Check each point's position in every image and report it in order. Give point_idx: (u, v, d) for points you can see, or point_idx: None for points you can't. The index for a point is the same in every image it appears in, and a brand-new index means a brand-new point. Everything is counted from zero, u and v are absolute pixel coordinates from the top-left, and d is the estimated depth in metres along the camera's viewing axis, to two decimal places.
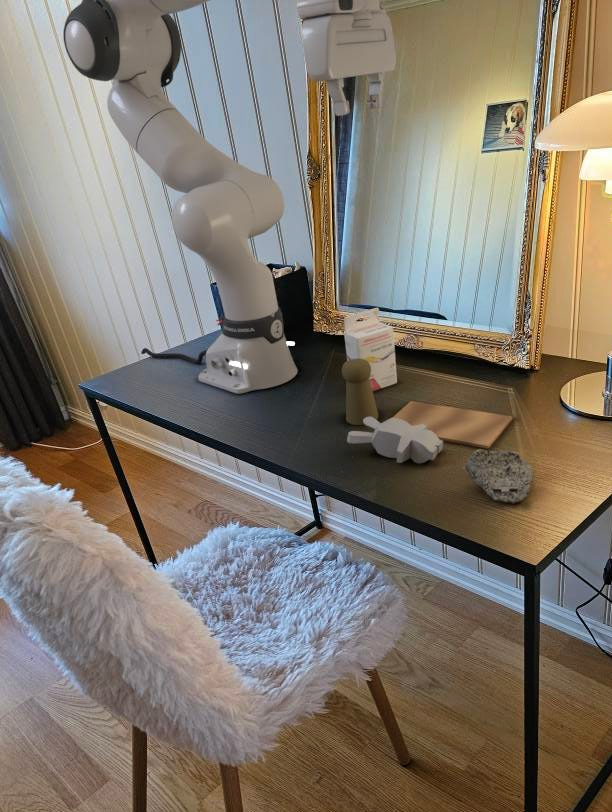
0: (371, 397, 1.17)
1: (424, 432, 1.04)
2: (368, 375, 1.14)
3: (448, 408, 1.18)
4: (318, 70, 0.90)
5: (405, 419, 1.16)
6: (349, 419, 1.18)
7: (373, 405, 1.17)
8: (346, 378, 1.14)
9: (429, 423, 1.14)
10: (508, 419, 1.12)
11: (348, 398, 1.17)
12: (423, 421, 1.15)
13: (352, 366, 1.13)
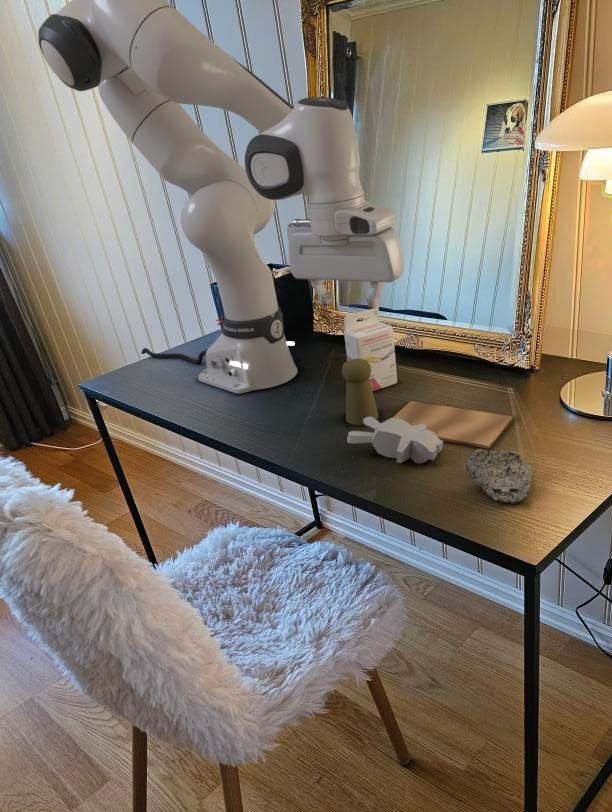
0: (371, 397, 1.17)
1: (424, 432, 1.04)
2: (368, 375, 1.14)
3: (448, 408, 1.18)
4: (400, 271, 1.01)
5: (405, 419, 1.16)
6: (349, 419, 1.18)
7: (373, 405, 1.17)
8: (346, 378, 1.14)
9: (429, 423, 1.14)
10: (508, 419, 1.12)
11: (348, 398, 1.17)
12: (423, 421, 1.15)
13: (352, 366, 1.13)
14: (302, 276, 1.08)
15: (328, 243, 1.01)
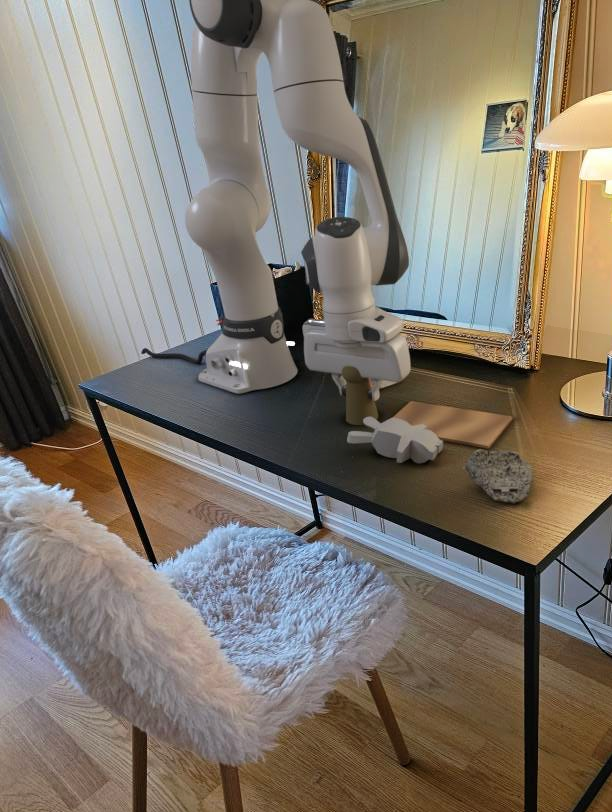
0: None
1: (424, 432, 1.04)
2: None
3: (448, 408, 1.18)
4: (407, 372, 1.10)
5: (405, 419, 1.16)
6: (349, 419, 1.18)
7: (373, 405, 1.17)
8: (346, 378, 1.14)
9: (429, 423, 1.14)
10: (508, 419, 1.12)
11: (348, 398, 1.16)
12: (423, 421, 1.15)
13: None
14: (316, 369, 1.17)
15: (341, 345, 1.10)
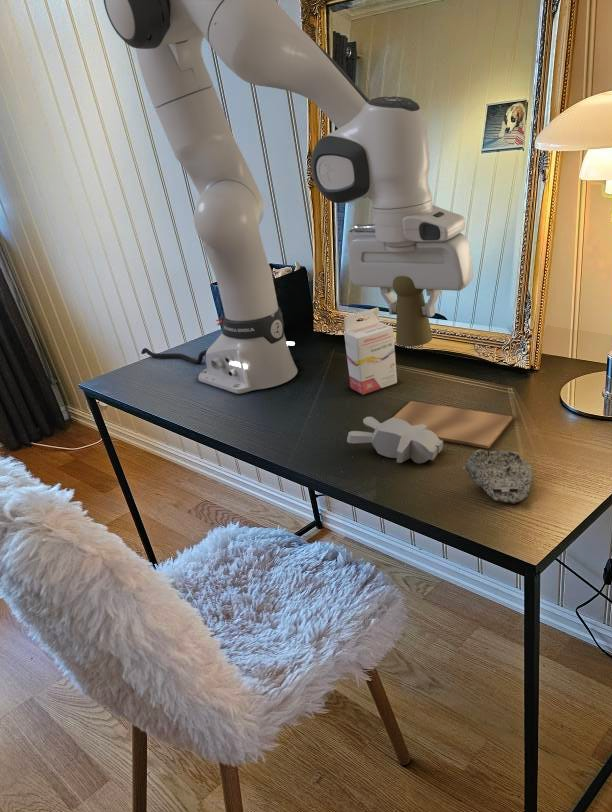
0: None
1: (424, 432, 1.04)
2: None
3: (448, 408, 1.18)
4: (469, 278, 0.96)
5: (405, 419, 1.16)
6: (400, 340, 1.05)
7: (427, 323, 1.04)
8: (398, 291, 1.01)
9: (429, 423, 1.14)
10: (508, 419, 1.12)
11: (399, 315, 1.03)
12: (423, 421, 1.15)
13: (405, 276, 0.99)
14: (362, 284, 1.04)
15: (394, 250, 0.96)
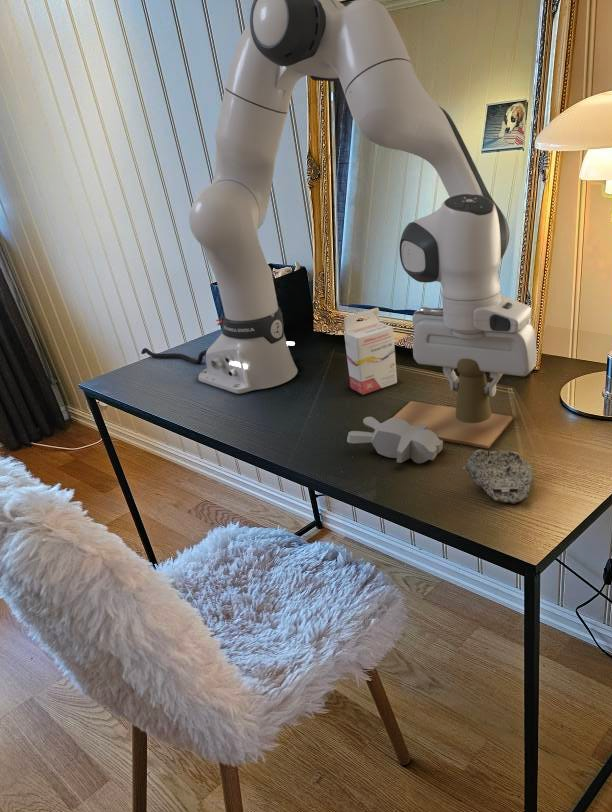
0: None
1: (424, 432, 1.04)
2: None
3: (448, 408, 1.18)
4: (533, 365, 1.00)
5: (405, 419, 1.16)
6: (461, 417, 1.09)
7: (488, 401, 1.08)
8: (462, 372, 1.04)
9: (429, 423, 1.14)
10: (508, 419, 1.12)
11: (462, 394, 1.07)
12: (423, 421, 1.15)
13: (470, 359, 1.03)
14: (426, 362, 1.08)
15: (462, 336, 1.00)
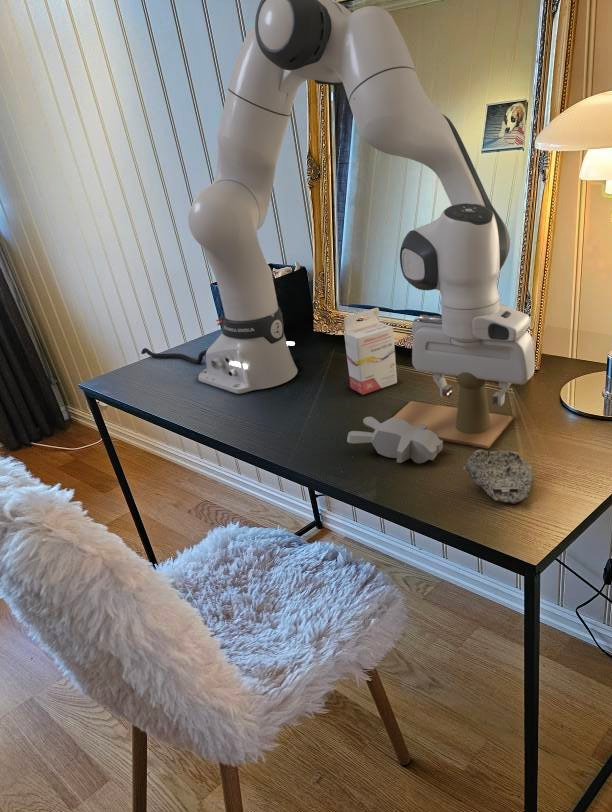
0: (486, 403, 1.08)
1: (424, 432, 1.04)
2: (486, 380, 1.05)
3: (448, 408, 1.18)
4: (531, 373, 1.01)
5: (405, 419, 1.16)
6: (461, 427, 1.10)
7: (488, 412, 1.09)
8: (462, 383, 1.05)
9: (429, 423, 1.14)
10: (508, 419, 1.12)
11: (462, 405, 1.08)
12: (423, 421, 1.15)
13: None
14: (425, 369, 1.08)
15: (460, 344, 1.01)
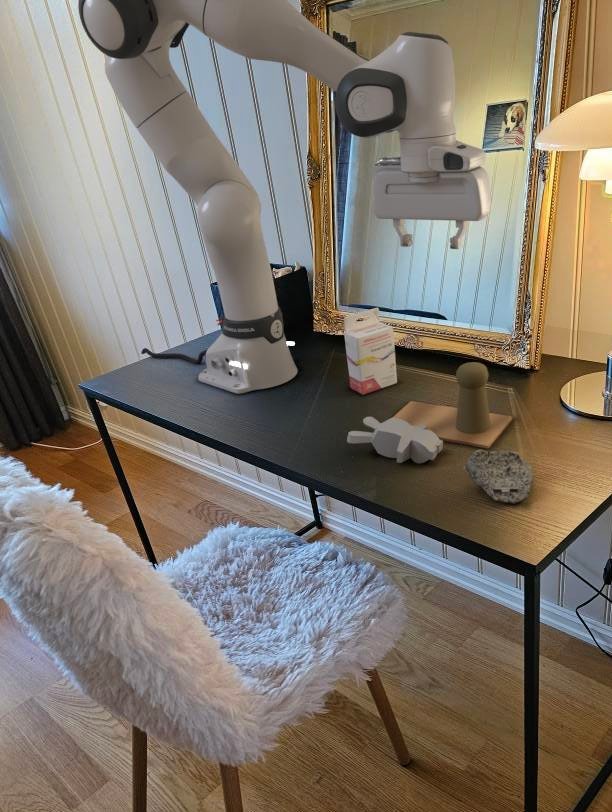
0: (486, 403, 1.08)
1: (424, 432, 1.04)
2: (486, 380, 1.05)
3: (448, 408, 1.18)
4: (487, 210, 1.03)
5: (405, 419, 1.16)
6: (461, 427, 1.10)
7: (488, 412, 1.09)
8: (462, 383, 1.05)
9: (429, 423, 1.14)
10: (508, 419, 1.12)
11: (462, 405, 1.08)
12: (423, 421, 1.15)
13: (470, 370, 1.04)
14: (385, 216, 1.10)
15: (418, 180, 1.03)
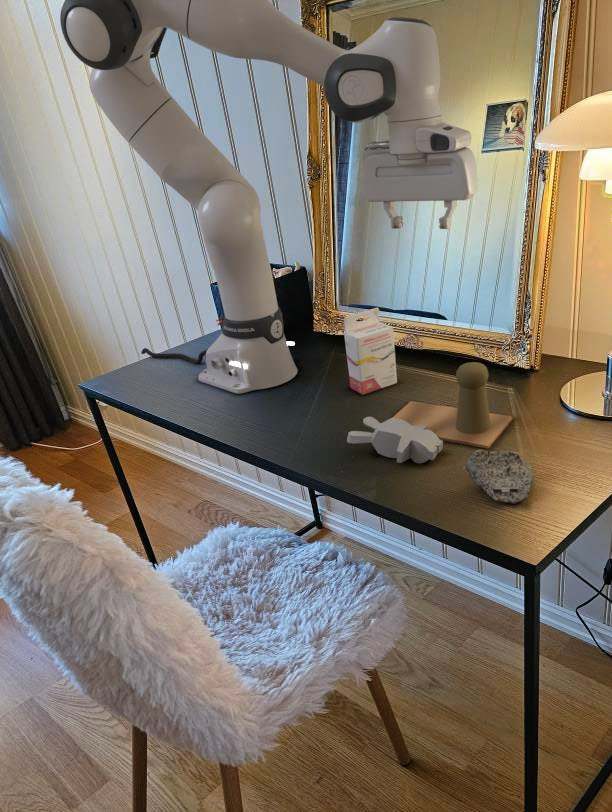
0: (486, 403, 1.08)
1: (424, 432, 1.04)
2: (486, 380, 1.05)
3: (448, 408, 1.18)
4: (474, 189, 1.06)
5: (405, 419, 1.16)
6: (461, 427, 1.10)
7: (488, 412, 1.09)
8: (462, 383, 1.05)
9: (429, 423, 1.14)
10: (508, 419, 1.12)
11: (462, 405, 1.08)
12: (423, 421, 1.15)
13: (470, 370, 1.04)
14: (376, 198, 1.14)
15: (406, 162, 1.06)
